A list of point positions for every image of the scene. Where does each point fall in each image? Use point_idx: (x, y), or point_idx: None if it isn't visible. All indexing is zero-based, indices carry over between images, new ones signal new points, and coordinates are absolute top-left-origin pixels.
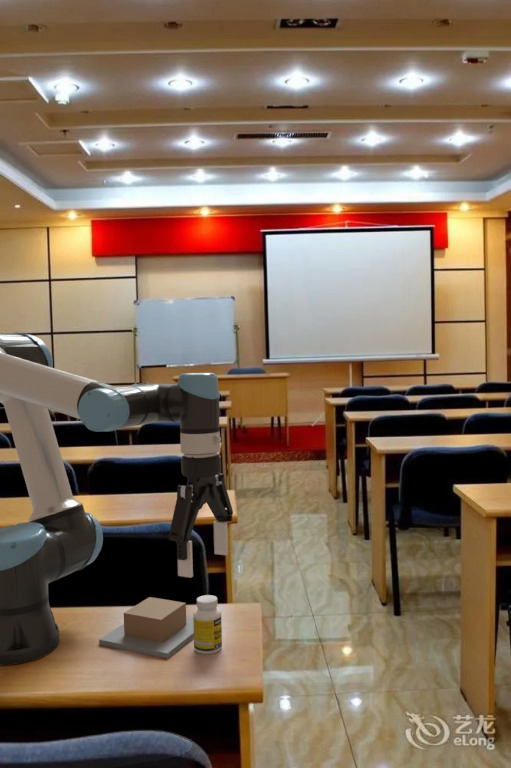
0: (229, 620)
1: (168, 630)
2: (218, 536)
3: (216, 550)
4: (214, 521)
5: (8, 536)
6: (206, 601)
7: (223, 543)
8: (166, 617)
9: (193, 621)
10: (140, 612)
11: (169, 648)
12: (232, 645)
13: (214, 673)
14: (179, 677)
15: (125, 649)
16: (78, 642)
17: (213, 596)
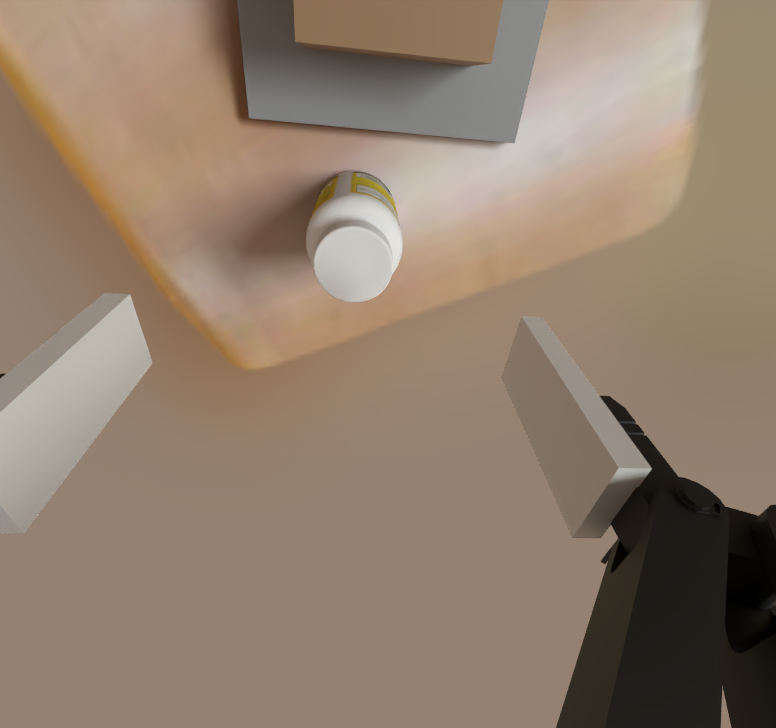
0: (549, 191)
1: (350, 51)
2: (550, 411)
3: (524, 339)
4: (635, 468)
5: None
6: (327, 277)
7: (524, 408)
8: (336, 46)
9: (326, 197)
10: None
11: (280, 106)
12: None
13: (249, 282)
14: (186, 210)
15: None
16: None
17: (382, 279)
